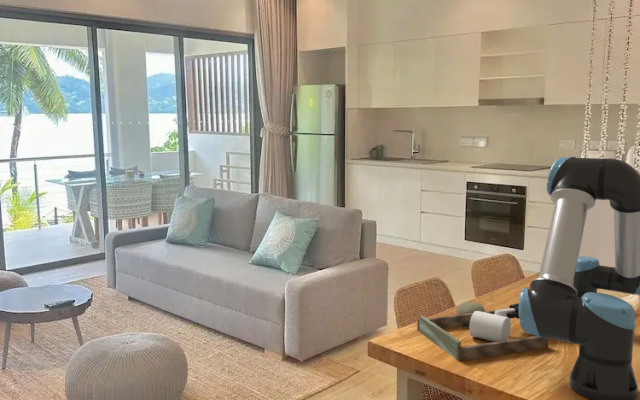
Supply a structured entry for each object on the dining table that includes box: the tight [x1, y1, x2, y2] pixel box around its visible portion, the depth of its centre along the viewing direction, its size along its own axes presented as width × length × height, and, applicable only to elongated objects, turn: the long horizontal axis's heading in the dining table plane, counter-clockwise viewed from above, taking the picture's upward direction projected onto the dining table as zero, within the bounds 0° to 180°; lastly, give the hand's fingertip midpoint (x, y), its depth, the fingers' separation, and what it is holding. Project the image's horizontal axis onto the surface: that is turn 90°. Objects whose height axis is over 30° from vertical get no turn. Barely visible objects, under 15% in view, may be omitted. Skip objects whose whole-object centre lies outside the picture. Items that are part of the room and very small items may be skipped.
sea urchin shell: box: [456, 301, 486, 315], centre depth 191 cm, size 9×8×8 cm
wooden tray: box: [416, 310, 550, 362], centre depth 172 cm, size 30×24×5 cm
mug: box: [468, 311, 512, 342], centre depth 172 cm, size 12×10×8 cm
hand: (496, 315), depth 174 cm, fingers closed
